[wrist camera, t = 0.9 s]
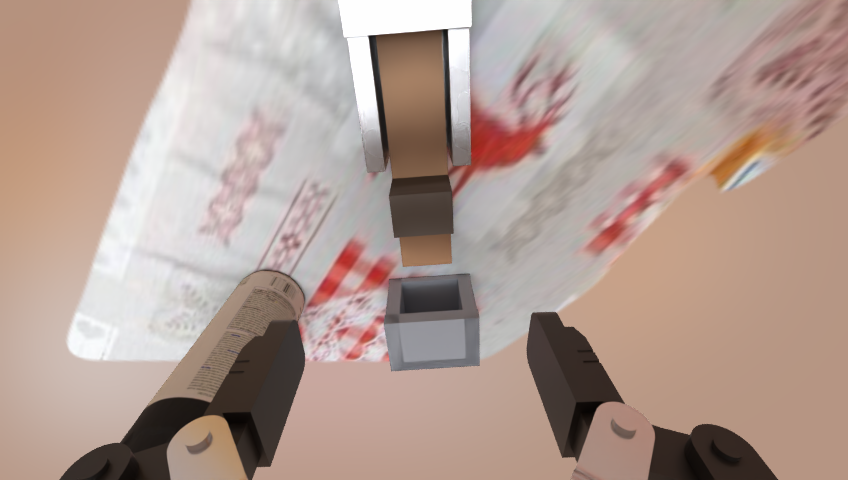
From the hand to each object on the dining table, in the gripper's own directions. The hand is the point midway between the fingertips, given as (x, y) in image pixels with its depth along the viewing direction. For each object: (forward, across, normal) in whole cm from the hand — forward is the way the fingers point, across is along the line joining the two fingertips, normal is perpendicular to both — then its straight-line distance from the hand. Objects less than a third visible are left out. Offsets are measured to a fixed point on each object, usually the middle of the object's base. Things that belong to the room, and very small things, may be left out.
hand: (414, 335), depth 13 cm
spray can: (+21, +15, +13) cm, 29 cm away
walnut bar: (+20, 0, -3) cm, 20 cm away
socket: (+21, -1, +14) cm, 25 cm away
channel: (+21, 0, -8) cm, 22 cm away
